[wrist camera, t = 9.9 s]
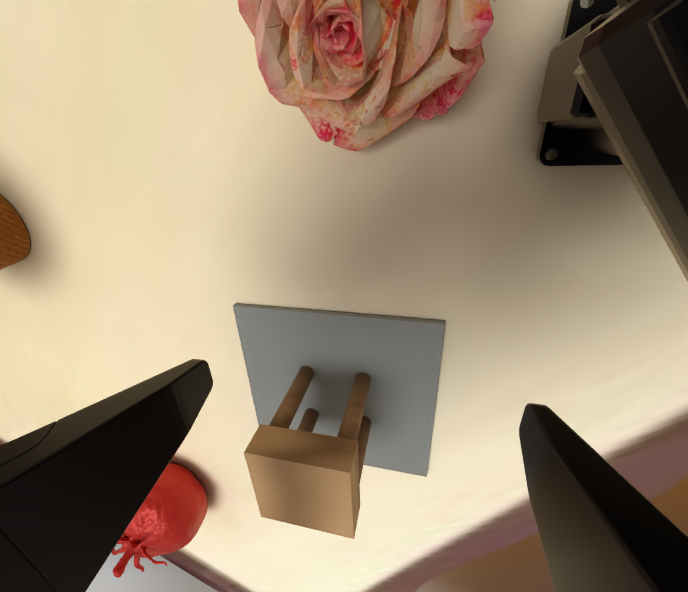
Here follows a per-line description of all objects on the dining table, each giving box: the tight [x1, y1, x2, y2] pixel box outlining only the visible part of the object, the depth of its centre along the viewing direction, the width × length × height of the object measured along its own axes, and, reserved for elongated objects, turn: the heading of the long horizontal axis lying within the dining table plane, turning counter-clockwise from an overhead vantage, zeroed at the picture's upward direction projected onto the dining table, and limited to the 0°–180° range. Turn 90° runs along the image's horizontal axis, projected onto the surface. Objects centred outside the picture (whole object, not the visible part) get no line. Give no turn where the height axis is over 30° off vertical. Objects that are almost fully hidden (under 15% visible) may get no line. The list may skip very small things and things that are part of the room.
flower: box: [238, 0, 495, 151], centre depth 12 cm, size 10×9×8 cm
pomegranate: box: [112, 463, 208, 577], centre depth 34 cm, size 10×10×9 cm
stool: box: [244, 366, 371, 539], centre depth 22 cm, size 6×6×8 cm
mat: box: [233, 303, 445, 477], centre depth 25 cm, size 15×15×1 cm
